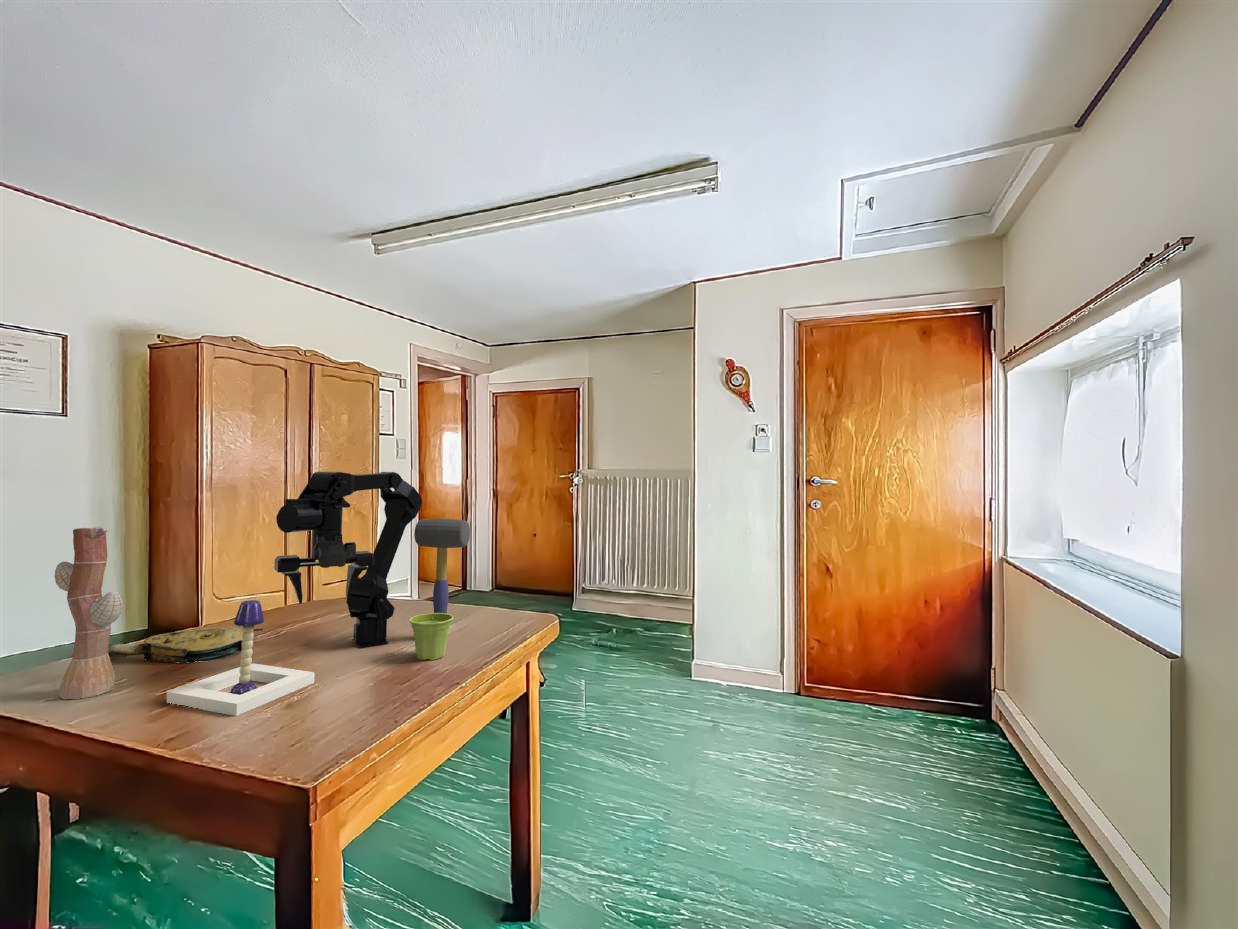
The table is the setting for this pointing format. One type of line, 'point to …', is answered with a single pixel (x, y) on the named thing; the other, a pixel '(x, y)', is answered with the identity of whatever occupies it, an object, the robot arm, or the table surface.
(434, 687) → the table surface
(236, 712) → the cutout frame
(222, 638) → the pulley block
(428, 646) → the plant pot
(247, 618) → the toy lamp
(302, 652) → the table surface
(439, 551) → the rubber mallet
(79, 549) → the vase
